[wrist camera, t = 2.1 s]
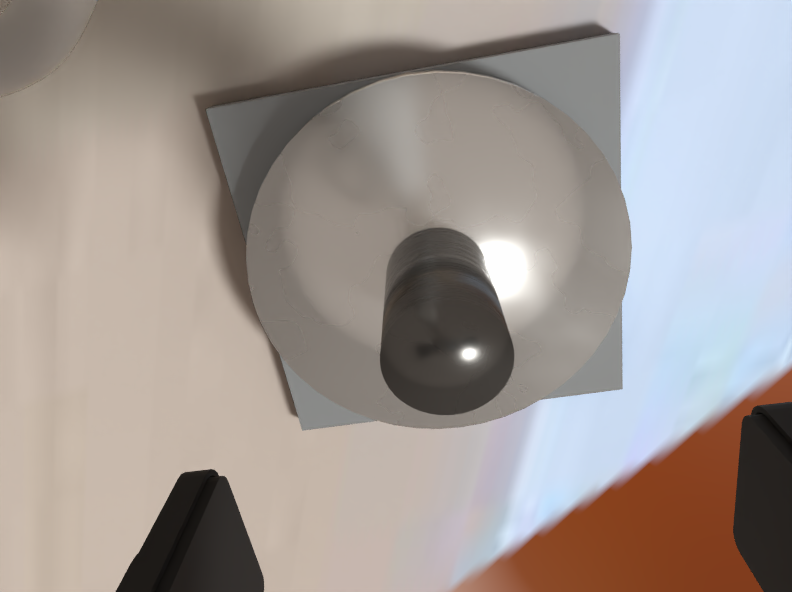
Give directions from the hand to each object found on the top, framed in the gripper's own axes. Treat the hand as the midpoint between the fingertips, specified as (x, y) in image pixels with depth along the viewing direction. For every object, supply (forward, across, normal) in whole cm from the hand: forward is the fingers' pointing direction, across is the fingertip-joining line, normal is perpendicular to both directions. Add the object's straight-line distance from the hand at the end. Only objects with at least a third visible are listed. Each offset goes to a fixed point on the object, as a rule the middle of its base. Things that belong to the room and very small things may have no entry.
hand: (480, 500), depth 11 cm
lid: (+10, 0, -1) cm, 10 cm away
